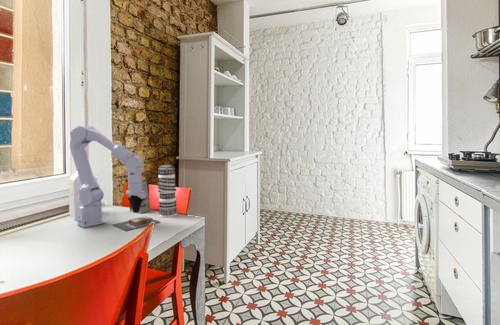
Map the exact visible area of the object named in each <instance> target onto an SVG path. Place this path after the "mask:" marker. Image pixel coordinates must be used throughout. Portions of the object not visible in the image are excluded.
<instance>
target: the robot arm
mask: <svg viewBox="0 0 500 325" xmlns="http://www.w3.org/2000/svg"><path fill="white" fill-rule="evenodd" d="M69 135H70V143H69V149H70V152H71V155H72V156H71V157H72V158H73V162H74V165H75V168H76V171H77V172H78V175H79V179H80V182H81V187H80V189H79V193H80V196H79V200H80V202H81V203H82V204H83V206H80V207H78V208H77V218H78V219H77V225H78V226H79V227H82V228H88V227H93V226H97V225H101V224H106V220H103V212H102V211H103V209H102V200H103V198H104V197H105V196H104V195H105V194H104V191H103V190H102V189H101V188H100V184H99V183H98V182H97V183H98V184H97V183H96V182H95V181H94V177H95V176H94V175H93V174H92V173H93V171H92V168H91V166H90V165H91V164H90V162H89V159H88V155H87V152H86V147H87V146H88V145H89V144H90V143H92V142H97V143H99V145H101V146H103V147H105V149H106V148H107V149H108V150H110V151H111V154H112V156H113V157H114V158H116V159H117V160H119V161H120V162H122V163H123V164H124V166H125V167H126V168H127V185H128V190H127V189H126V190H125V195H127V196H128V197H127V200H128V201H130V203H131V206H132V209H133V212H132V213H135V214H136V213H137V212H139V210H140V206H141V203H142V200H143V199H144V198H146V194H145V193H144V192H145V191H142V180H143V179H142V178H143V176H142V166H143V164H144V160H143V158H142V157H141V155H138V154H135V152H132V151H130V150H129V149H127V146H125V145H123V144H122V145H121V144H116V143H115V142H113V141H112V140H111V139H110V138H108V137H107V136H106V135H104V134H103V133H102V132H101V131H100V130H98V129H96V128H95V127H94V126H82V125H76V126H74V127H73V128H72V129H71V130H70V132H69ZM93 176H94V177H93ZM129 195H131V197H129Z"/></svg>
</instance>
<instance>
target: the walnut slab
mask: <svg viewBox="0 0 500 325" xmlns="http://www.w3.org/2000/svg"><path fill="white" fill-rule="evenodd" d="M152 219H153V217H149V216H147V215H144V216H140V217H135V218H131V219H128V221H129V225H132V226H134V227H137V226H141V225H145V224H149V223H151V222H152Z"/></svg>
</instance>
